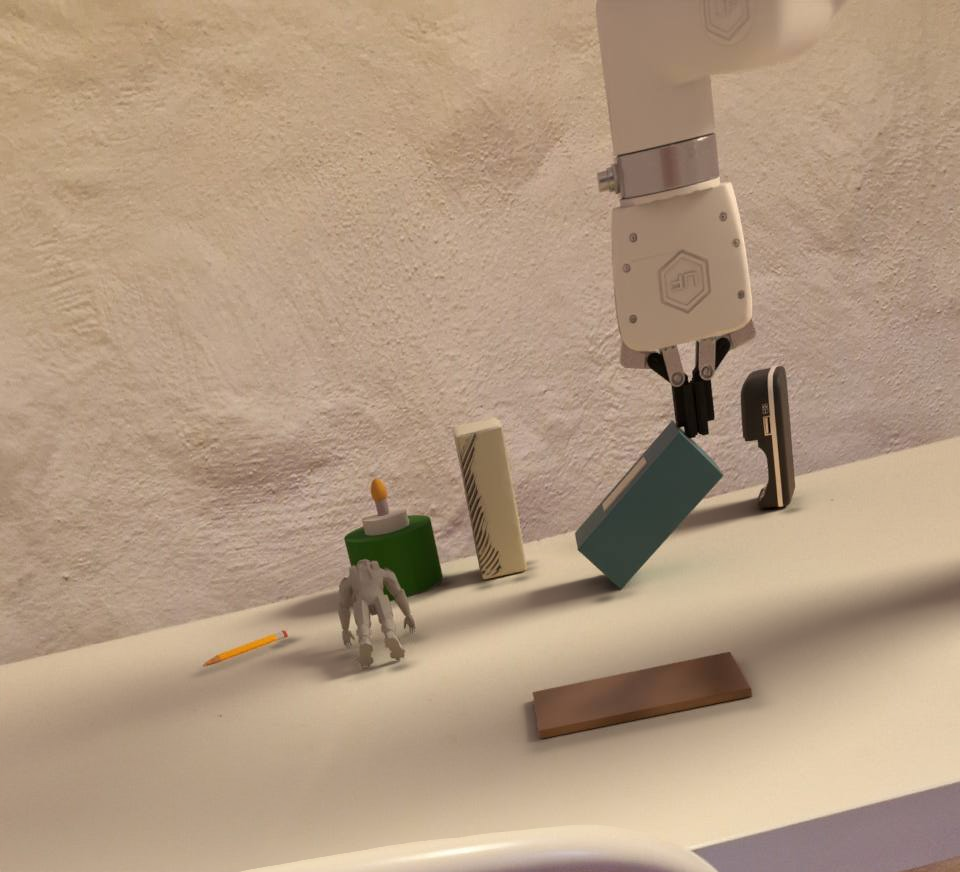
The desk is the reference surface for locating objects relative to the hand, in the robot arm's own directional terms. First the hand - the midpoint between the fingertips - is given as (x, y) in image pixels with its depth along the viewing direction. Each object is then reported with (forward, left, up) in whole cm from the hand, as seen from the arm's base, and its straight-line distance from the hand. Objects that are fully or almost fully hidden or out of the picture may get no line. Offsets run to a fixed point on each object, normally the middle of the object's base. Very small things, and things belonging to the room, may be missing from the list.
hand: (696, 433), depth 114 cm
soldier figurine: (+29, +5, -10) cm, 31 cm away
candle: (+28, -14, -10) cm, 33 cm away
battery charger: (-8, -16, -10) cm, 21 cm away
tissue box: (+3, 0, -7) cm, 7 cm away
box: (+18, -12, -10) cm, 24 cm away
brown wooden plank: (+10, +30, -10) cm, 33 cm away
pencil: (+42, -3, -11) cm, 43 cm away
